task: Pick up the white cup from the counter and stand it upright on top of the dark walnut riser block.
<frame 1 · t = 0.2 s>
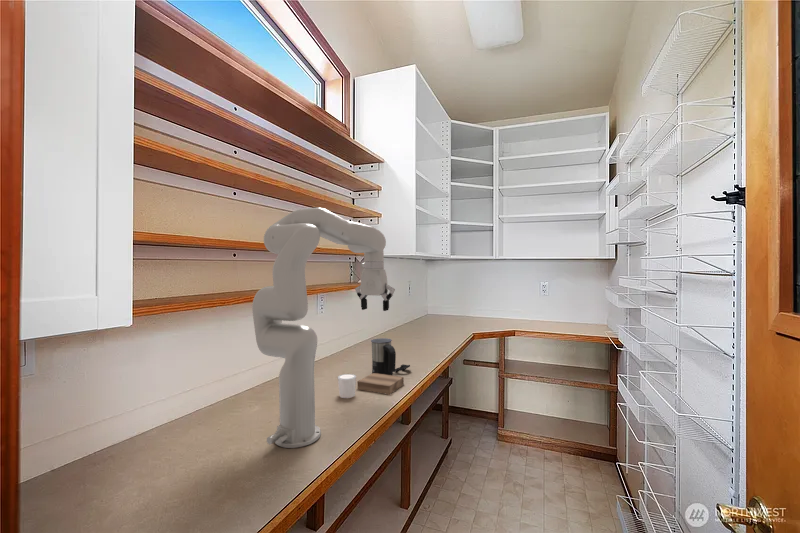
hand: (374, 309, 142), 30 cm above the table, tool pointing down, fingers open, 9 cm apart
white cup: (347, 395, 134), on the table
beverage cup: (301, 411, 121), on the table
milk frother: (391, 373, 161), on the table
walnut riser: (381, 386, 143), on the table
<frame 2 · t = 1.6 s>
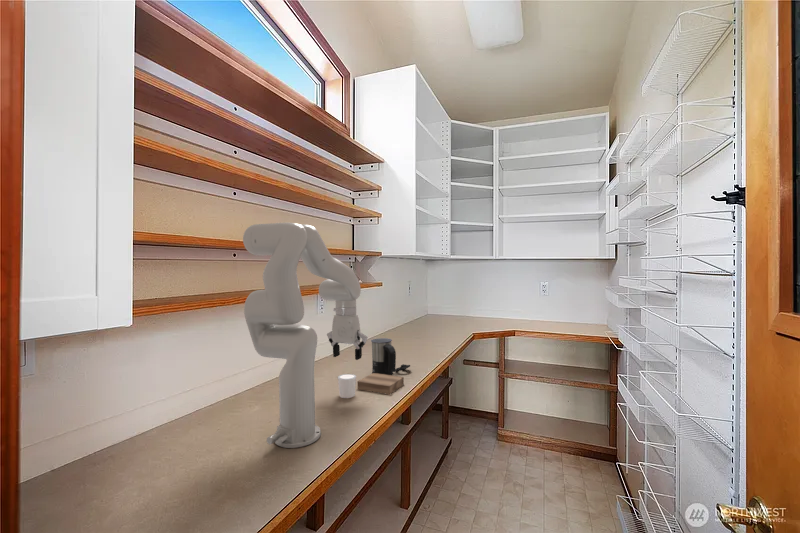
hand: (347, 357, 135), 14 cm above the table, tool pointing down, fingers open, 9 cm apart
nothing on the table moved.
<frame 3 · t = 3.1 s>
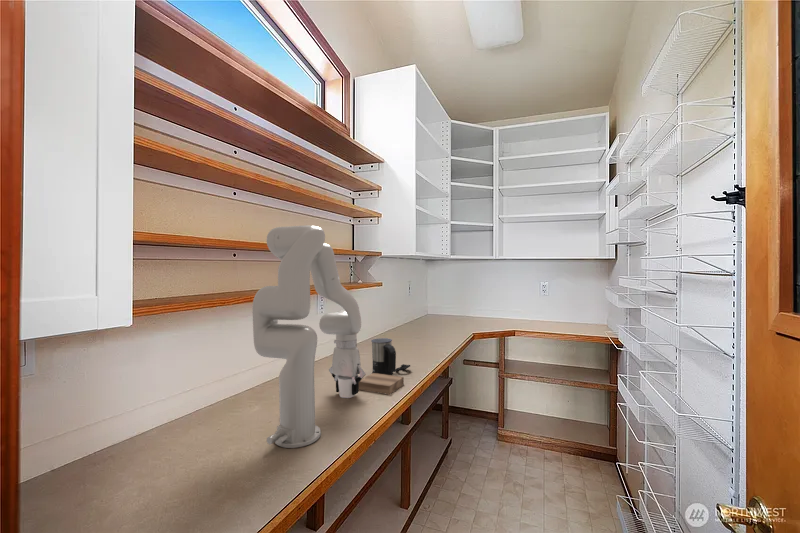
hand: (347, 392, 134), 1 cm above the table, tool pointing down, fingers closed on white cup, 6 cm apart
white cup: (347, 395, 134), on the table, touching gripper
everything else where it was.
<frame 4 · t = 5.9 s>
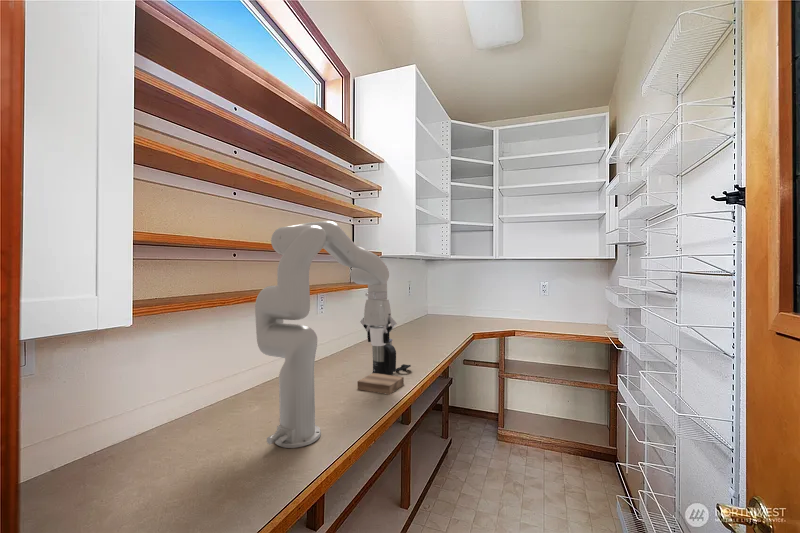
hand: (378, 341, 142), 18 cm above the table, tool pointing down, fingers closed on white cup, 6 cm apart
white cup: (378, 344, 142), point 17 cm above the table, touching gripper
everything else where it was.
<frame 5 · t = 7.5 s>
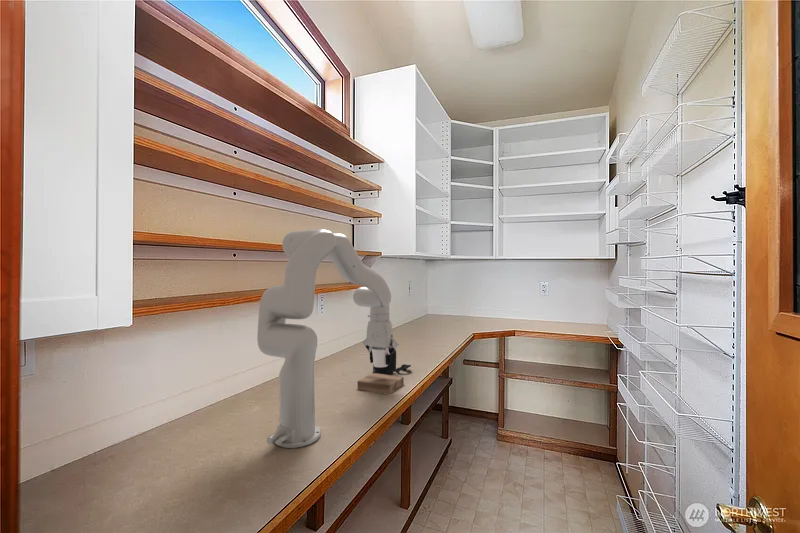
hand: (380, 362, 143), 9 cm above the table, tool pointing down, fingers closed on white cup, 6 cm apart
white cup: (380, 365, 143), point 8 cm above the table, touching gripper
everything else where it was.
when the fingers open (5 cm above the table, at t = 8.8 s): white cup drops 1 cm, resting on walnut riser.
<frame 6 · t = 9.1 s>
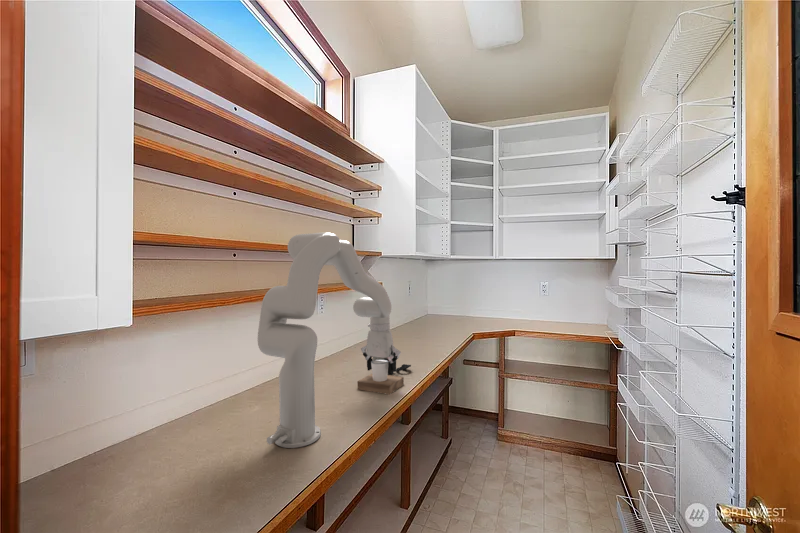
hand: (380, 370, 143), 6 cm above the table, tool pointing down, fingers open, 9 cm apart
white cup: (380, 379, 143), point 3 cm above the table, touching walnut riser
everything else where it was.
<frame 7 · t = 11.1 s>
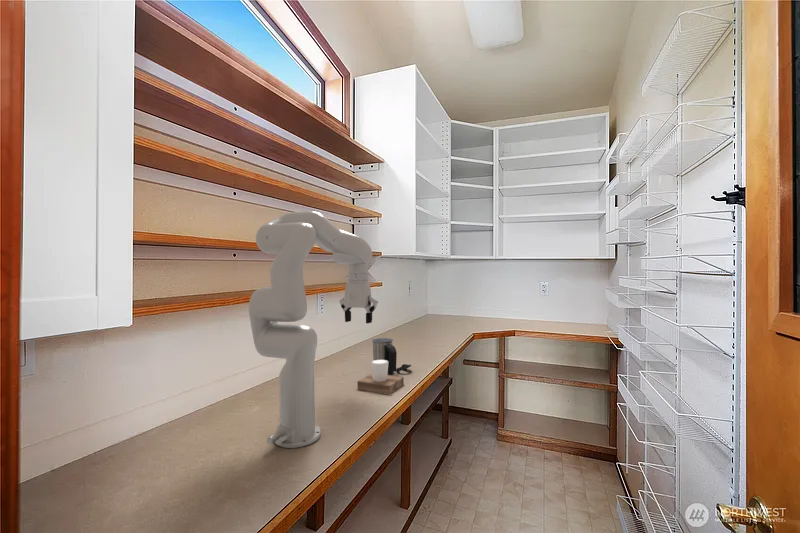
hand: (358, 322, 141), 26 cm above the table, tool pointing down, fingers open, 9 cm apart
nothing on the table moved.
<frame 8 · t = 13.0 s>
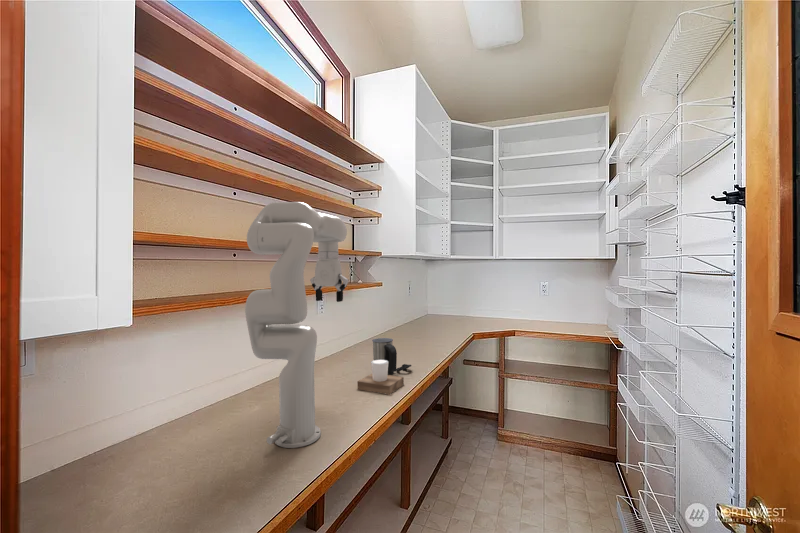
hand: (329, 301, 140), 34 cm above the table, tool pointing down, fingers open, 9 cm apart
nothing on the table moved.
at the end: white cup inside the target area on the walnut riser (0.4 cm from its centre), point 2.8 cm above the walnut riser's base; white cup tilted 0°; the gripper is holding nothing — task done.
